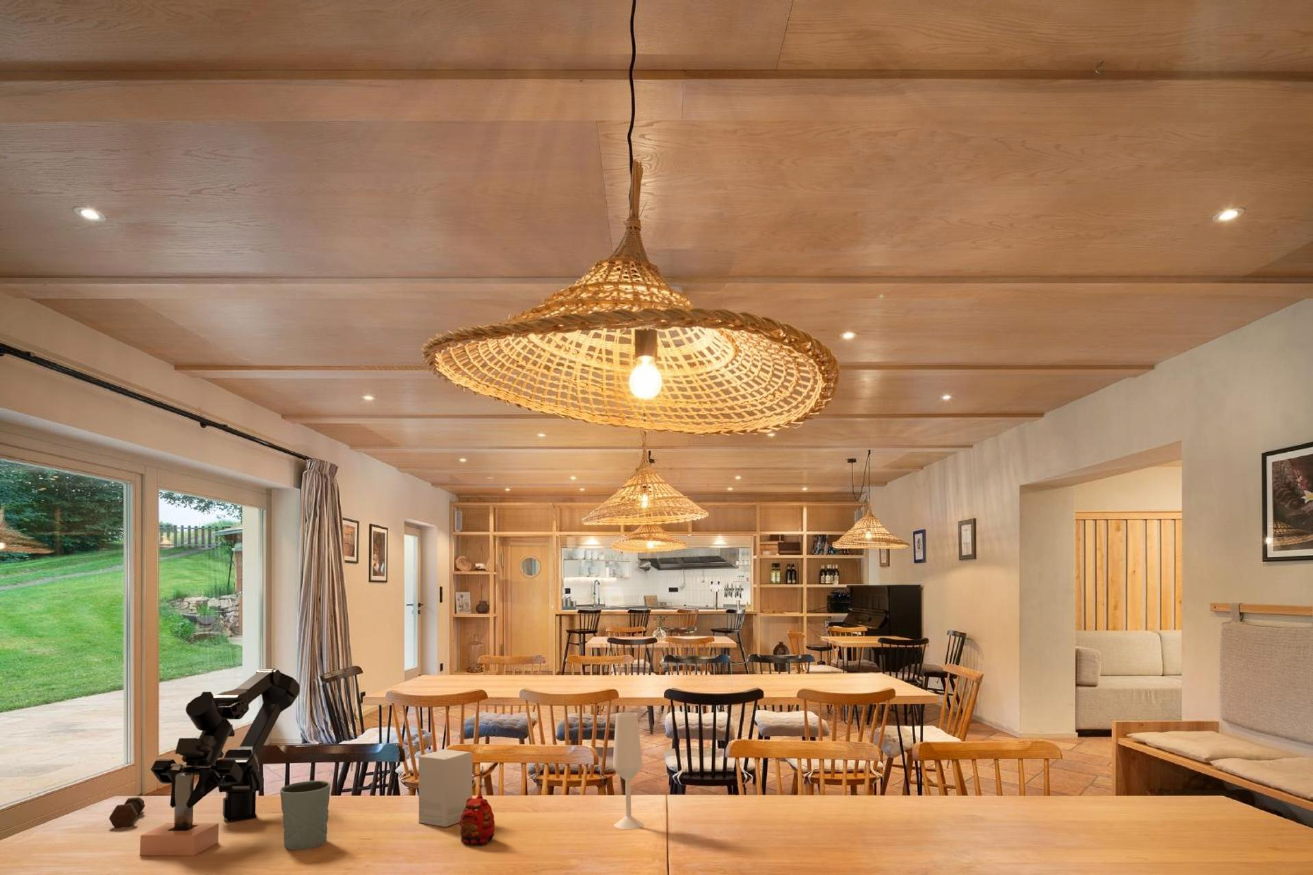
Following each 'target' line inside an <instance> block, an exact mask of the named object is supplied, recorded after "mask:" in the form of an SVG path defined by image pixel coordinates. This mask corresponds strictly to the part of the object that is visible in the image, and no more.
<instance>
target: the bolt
mask: <svg viewBox="0 0 1313 875" xmlns="http://www.w3.org/2000/svg"><path fill="white" fill-rule="evenodd" d="M145 807H146V805H145V801H144V800H143V798H141V797H140V796H139V797H127V799H126V801H125V802H124V804H118V805H116V806H115V808H114V809H113V811H112V812H111V814H110V815H109V817H108V820H110V824H111V825H112V826H113V827H114V829H122V827H125V828H130V827H131V826H132V825H133V823H134V821H136V819H137V817H139V816H140V815H141V814H142V812H143V811H144V809H145Z"/></svg>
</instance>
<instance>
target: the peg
mask: <svg viewBox="0 0 1313 875" xmlns="http://www.w3.org/2000/svg"><path fill="white" fill-rule="evenodd" d="M194 789H195V776H194V773H193V772H185V773H179V774H177V775H176V777H175V807H174V813H173V814H174V815H173V816H174V817H173V819H174V821H173V823H174V831H188V830H190V829H192V828H193V823H194V806H193V807H191V808H189V807H188V802H189V800H190V797H191V795H192V793H193V791H194Z"/></svg>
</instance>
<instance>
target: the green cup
mask: <svg viewBox="0 0 1313 875" xmlns="http://www.w3.org/2000/svg"><path fill="white" fill-rule="evenodd" d="M331 786H332V784H331V783H330V782H329V781H327V780H326V781H324V780H306V781H301V782H300V781H299V782H294V783H290V784H286V785H285V786H282V787H280V789H279V791H280V792H279V793H280V802H281V811H282V814H283V815H282V816H281V817H282V828H283V842H284V843H283V844H284V848H285V849H287V848H288V849H287V850H290V849H291V851H292V850H293V851H302V850H303V849H304V850H311V849H314V848H318V846H319V847H321V846H323V845H325V843H326V842H327V838H328V825H327V824H328V821H329V804H330V795H331ZM310 848H311V849H310Z"/></svg>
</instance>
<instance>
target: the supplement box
mask: <svg viewBox="0 0 1313 875" xmlns="http://www.w3.org/2000/svg"><path fill="white" fill-rule="evenodd" d="M469 798H473V753H472V752H471V751H462V750H453V749H445V748H444V749H441V750H440V749H439V750H436V751H433V752H430V753H425V754H421V755H418V823H419V824H426V825H432V826H437V827H443V828H446V827H449V826H452V825H456V824H458V823H459V824H460V819H461V815H462V813H463V810H464V808H465V807H466V802H467V799H469Z"/></svg>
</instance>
